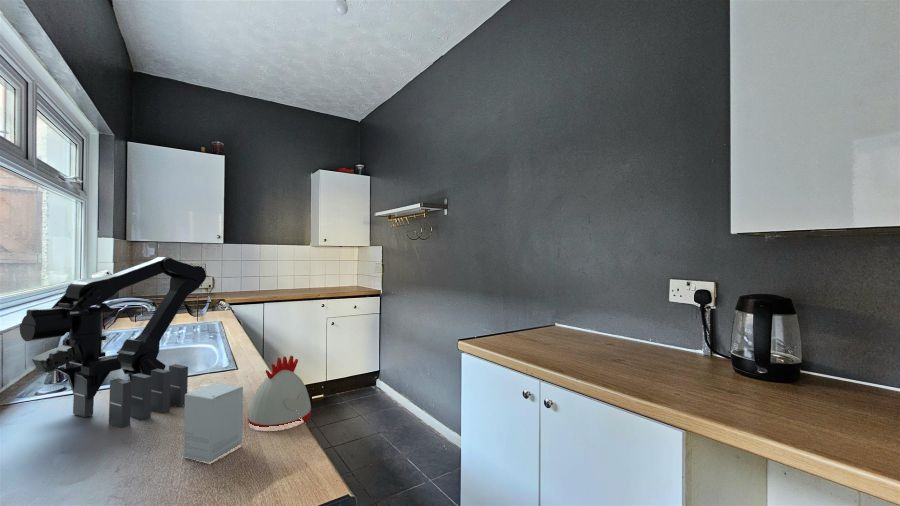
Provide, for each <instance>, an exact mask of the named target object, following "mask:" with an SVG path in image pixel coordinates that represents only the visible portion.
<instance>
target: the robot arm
mask: <svg viewBox="0 0 900 506" xmlns="http://www.w3.org/2000/svg"><path fill="white" fill-rule="evenodd" d="M160 274H164V275H165V276H167V277H170V278H169V289H168V292H166V294H165V296H164V297H163V299H162V300H161V302H160V304H158V307H157V309H155V311H154V313H152V316H151V317H150V319H149V320H148V322H147V323H146V325H145V327H144V328H143V330H142V331H141V333H140V334H139V335H138V336H137V337H136V338H134V339H132V338H131V339H130V338H126V339H125V341H124V342H123V344H122V346H121V348H120V349H119V350H117V352H116V354H118V355H117V356H110V355H108V356H106V355H107V354H106V352H105V351H102V345H103V341H106V340H107V335H104V334H103V318H104V317H103V314H105V313H113V312H114V308H112V307H111V306H109V305H108V304H107V303H106V301H108V300H110V299H111V298H113V297H114V296H115V295H117V294H118V293H119V292H120V291H122V290H123V289H126V288H128V287H130V286H133V285H136V284H138V283H141V282H143V281H145V280H148V279H151V278H153V277H156V276H158V275H160ZM206 280H207V272H206V270H205V269H204V268H203V267H202V266H200V265H191V264H188V263H185V262H182V261H178V260H176V259H174V258H171V257H167V256H166V257H165V256H163V257H162V256H158V257H155V258H154V259H152V260H149V261H146V262H144V263H143V262H142V263H141V264H140V263H139V264H138V265H135V266H132V267H129V268H126V269H123V270H120V271H118V272H116V273H113V274H109V275H105V276H99V277H91V278H86V279H80V280H77V281H73V282H71V283H69V284H68V286H67V288H66V290H65V293H64V294H63V295H62V296H61V297H60V298H59V300H57V302H55V303H54V305H53V306H52V307H51V308H42V309H41V308H40V309H38V308H34V309H33V308H32V309H27V310H26V315H25V316H23V318H22V320H21V323H19V333H20V336H21V338H22V340H24V342H32V341H40V340H46V339H47V340H48V339H53V338H59V337H60V338H61V337H64V336H65V335H66V334H67V333H68V337H64V339H63V340H62V345H61V346H58V347H55V348H52V349H49V350H47V351H45V352H41V353H40V354H38V355H37V354H36V355H35V356H33V357H31V360H32V362H33V364H34V366H35V368H36V369H37V371H38V372H43V373H45V374H46V373H51V372H53V371H58V372H60V373H61V374H64V375H65V376H66V378H67V380H68V383H69V386H70V387H71V391H72V394H73V395H74V373H75V372H78V371H81V372H82V373H78V374H76V375H77V376H79V377H81V378H83V380H84V387H85V394H86V399H87V400H89V399H93V398H95V396H96V394H97V393H98V391H99V389H100V388H101V386H102V385H103V383H104V381H106V380H107V377H108V376H109V375H110V373H111V372H113V371H114V372H115V371H119V370H121V369H122V371H123V374H125V375H127V379H126V380H127V381H131V375H134V374H138V373H140V374H145V375H149V376H151V370H154V369H163V370H166V364H165V363H163V362H162V361H160V360H159V359H157V358H158V356H159V353H160V342H161V340H162V339H163V336H164V335H165V333H166V332H167V330H168V328H169V327H170V326H171V323H172V322H173V320H174V319H175V317H176V315H177V314H178V313H179V311H180V309H181V307H182V306H183V304H184V303H185V301H186V299H187V297H189V295H191V294H192V293H194V292H195V291H196V290H198V289H199V288H200V287H201V286H202V285H203V283H204V282H205V281H206Z"/></svg>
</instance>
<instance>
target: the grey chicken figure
mask: <svg viewBox="0 0 900 506" xmlns="http://www.w3.org/2000/svg"><path fill="white" fill-rule="evenodd" d="M282 357H283V358H280V357H277V360H276V365H275V364H274V363H271V364H270V365H271V370H272V371H271V372H270V371H269V370H267V369H266V370H265V374H266V376H267V377H266V378H265V379H264V380H263V381H262V382H261V383H260V384H259V386H258V388H257V389H256V391H255V393H254V396H253V398H252V402H251V404H250V408H249V412H248V417H247V422H248V421H249V423H250V424H252V425H254V426H259V427H269V426H279V425H284V424H288V423H292V422H295V421H301V420H300V419H301V417H302V419H303V420H304V422H305V423H306V422H308V421H309V420H310V418H311V416H312V405H311V400H310V399H311V398H310V395H309V392H308V389H307V387H306V384H305V383H304V382H303V380H302V379H301V377H300V376H298V374H296V373H295V370H296V367H297V365H298V363H299V359H298V358H295V360H294V356H293V355H292V354H291V355H290V356H289V357H288V359H287V356H282ZM296 410H297V411H296ZM298 413H299V414H300V415H299V414H298ZM300 416H301V417H300ZM299 418H300V419H299Z"/></svg>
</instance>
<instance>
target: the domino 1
mask: <svg viewBox="0 0 900 506" xmlns="http://www.w3.org/2000/svg"><path fill="white" fill-rule="evenodd" d="M78 373H82V372H81V371H78V372H75V373H74V394H73V399H72V400H73V404H72V405H73V407H72V414H73V415H76V416H80V417H82V418H87V417H89V416H90V417H91V416H93V415H94V401H95V399H94V398H95V397H94V398H93V399H89V400H87V399H86V394H85V387H84V380H83V378H81V377H79V376H77V375H76V374H78Z"/></svg>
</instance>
